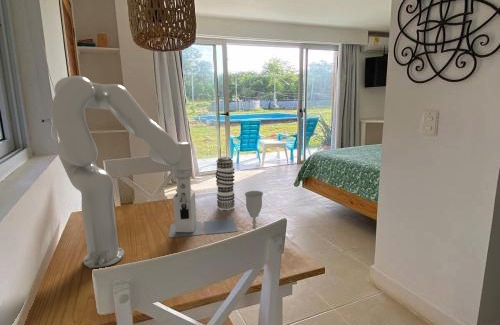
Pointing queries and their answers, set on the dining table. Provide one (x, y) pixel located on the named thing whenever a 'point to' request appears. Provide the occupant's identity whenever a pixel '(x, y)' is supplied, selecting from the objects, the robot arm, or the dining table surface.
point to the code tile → (181, 234)
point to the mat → (219, 226)
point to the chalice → (254, 204)
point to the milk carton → (190, 223)
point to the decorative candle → (225, 183)
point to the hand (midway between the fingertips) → (185, 214)
